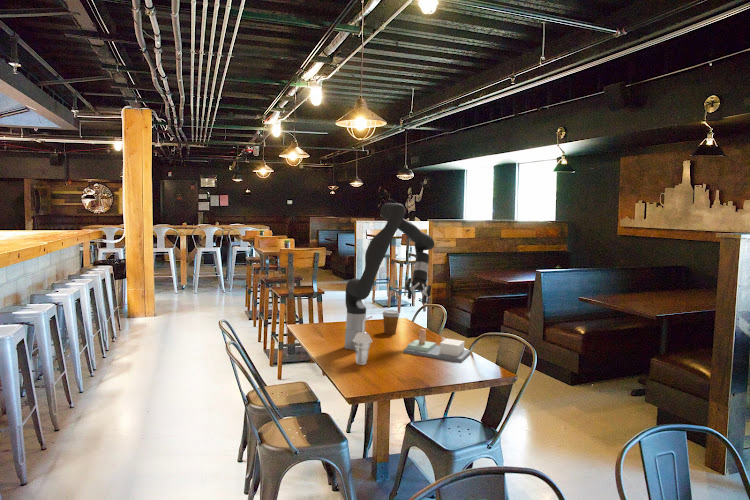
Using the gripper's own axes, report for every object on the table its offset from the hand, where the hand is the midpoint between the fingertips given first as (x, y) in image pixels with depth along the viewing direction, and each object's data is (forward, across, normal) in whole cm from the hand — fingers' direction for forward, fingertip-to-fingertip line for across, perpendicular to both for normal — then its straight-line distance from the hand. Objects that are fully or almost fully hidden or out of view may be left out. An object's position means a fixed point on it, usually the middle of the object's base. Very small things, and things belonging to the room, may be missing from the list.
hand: (416, 301), depth 256 cm
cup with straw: (+41, -32, -15) cm, 54 cm away
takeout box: (+26, +13, -18) cm, 33 cm away
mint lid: (+24, +3, -6) cm, 25 cm away
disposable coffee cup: (+12, +2, +28) cm, 31 cm away
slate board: (+26, +8, -12) cm, 30 cm away
